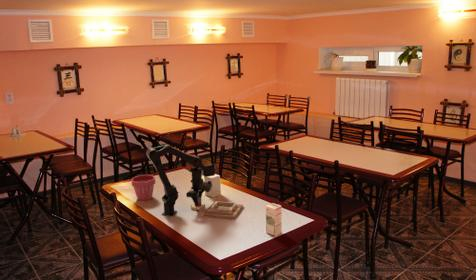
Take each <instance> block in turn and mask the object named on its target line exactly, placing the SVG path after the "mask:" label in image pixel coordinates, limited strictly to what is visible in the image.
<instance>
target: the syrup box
mask: <svg viewBox="0 0 476 280" xmlns="http://www.w3.org/2000/svg"><path fill="white" fill-rule="evenodd" d="M265 224H266V225H265V229H266V234H268V235H271V236H274V237H276V236H278V235H280V234H282V232H283V231H282V230H283V229H282V225H283V224H282V205H280V204H276V203H274V202H271V203H269V204H267V205H265Z"/></svg>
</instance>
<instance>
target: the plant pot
mask: <svg viewBox="0 0 476 280" xmlns="http://www.w3.org/2000/svg"><path fill="white" fill-rule="evenodd" d="M130 180H131V186H132V187H133V190H134V192H135V194H136V198H137V200H139V201H148V200H151V199H152V198H153V196H154V195H153V194H154V189H155V188H154V187H155V184H156V177H155V176H154V175H151V174H141V175H136V176H134V177H132V178H131V179H130Z"/></svg>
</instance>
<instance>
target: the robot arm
mask: <svg viewBox="0 0 476 280" xmlns="http://www.w3.org/2000/svg"><path fill="white" fill-rule="evenodd" d="M145 154H146V156H147V158H148V159H149V161H150V162H151V163H152V165H153V167H154V168H155V170H156V172H157V175H158V177H159V178H160V182H161V184H162V185H163V190H164V191H163V192H164V195H163V196H162V197H161V200H162V202H163V211H162V213H161V215H162V216H172V217H173V216H174V215H175V214H176V213H177V212H178V211H177V210H175V205H176V201H177V200H178V198H179V194H180V193H179V192H178V190H177V187H176V185H174V184H172V183H171V182H170V179H169V177H168V175H167V173H166V171H165V168H164V167H163V165H162V161H161V159H162V157H163V156H165V155H167V154H170V155H172V156H175V157H176V158H179V159H181V160H183V161H186V163H188V164H189V165H191V166H189V168H188V169H187V171H188V173H191V174H190V175H191V180H190V183H191V187H190V190H188V192H186V194H185V195H186V196H185V197H187V198H191V200H192V202H193V204H195V205H198V197H199V196H200V197H201V198H202V197H203V193H205V191H206V192H209V191H210V190H211V187H212V182H211V181H208V182H204V177H208V176H214V175H215V174H216V170H215V168H214V164H212V163H209V164H203V160H202V159H201V158H200V157H199V156H197V155H196V154H195V155H194V154H190V153H186V152H184V151H182V150H180V149H178V148H175V147H174V146H171V145H170V144H169V143H167V144H163V145H159V146H157V147H156V146H155V147H149V148H148V149H147V150H146V152H145ZM192 166H193V167H192ZM202 176H203V177H202Z"/></svg>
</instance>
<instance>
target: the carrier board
mask: <svg viewBox="0 0 476 280" xmlns="http://www.w3.org/2000/svg"><path fill="white" fill-rule="evenodd" d="M243 208H244V205H243V204H240V203H237V202H230V201H217V200H216V202H215V201H213V202H212V204H210V206H209V207H207V209H206V210H205V211H204V212H203V213H202V217H205V218H216V219H229V220H235V219H236V218H237V216H238V215H239V214H240V212H241V211H242V210H243Z"/></svg>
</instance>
